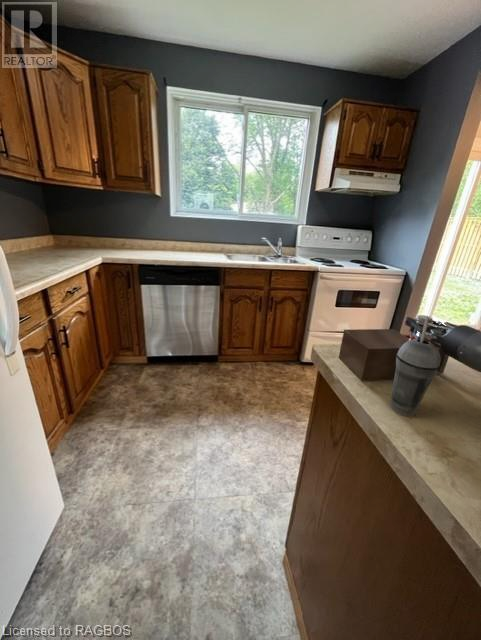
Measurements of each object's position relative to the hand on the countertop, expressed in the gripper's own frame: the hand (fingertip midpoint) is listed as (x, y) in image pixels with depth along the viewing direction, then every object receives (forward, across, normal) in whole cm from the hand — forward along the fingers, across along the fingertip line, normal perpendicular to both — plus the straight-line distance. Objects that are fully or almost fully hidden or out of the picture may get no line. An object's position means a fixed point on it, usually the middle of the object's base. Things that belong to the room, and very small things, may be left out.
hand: (414, 320), depth 72 cm
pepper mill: (-3, 0, +6) cm, 7 cm away
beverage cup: (-19, +15, +13) cm, 27 cm away
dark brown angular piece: (-3, 0, +11) cm, 12 cm away
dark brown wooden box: (-3, +10, +12) cm, 16 cm away
